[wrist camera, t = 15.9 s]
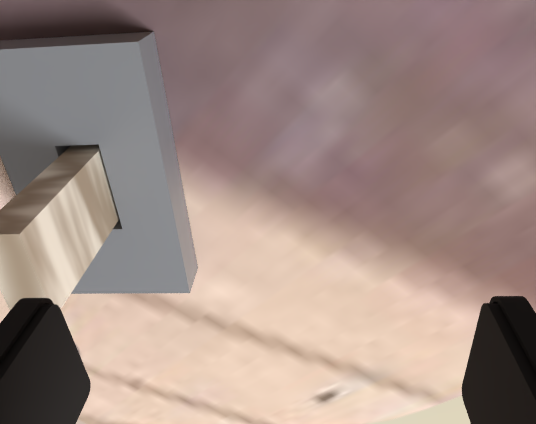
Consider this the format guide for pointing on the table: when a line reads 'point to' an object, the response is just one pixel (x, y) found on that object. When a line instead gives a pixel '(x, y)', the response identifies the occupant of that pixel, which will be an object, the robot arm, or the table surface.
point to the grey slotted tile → (103, 148)
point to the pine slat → (56, 227)
